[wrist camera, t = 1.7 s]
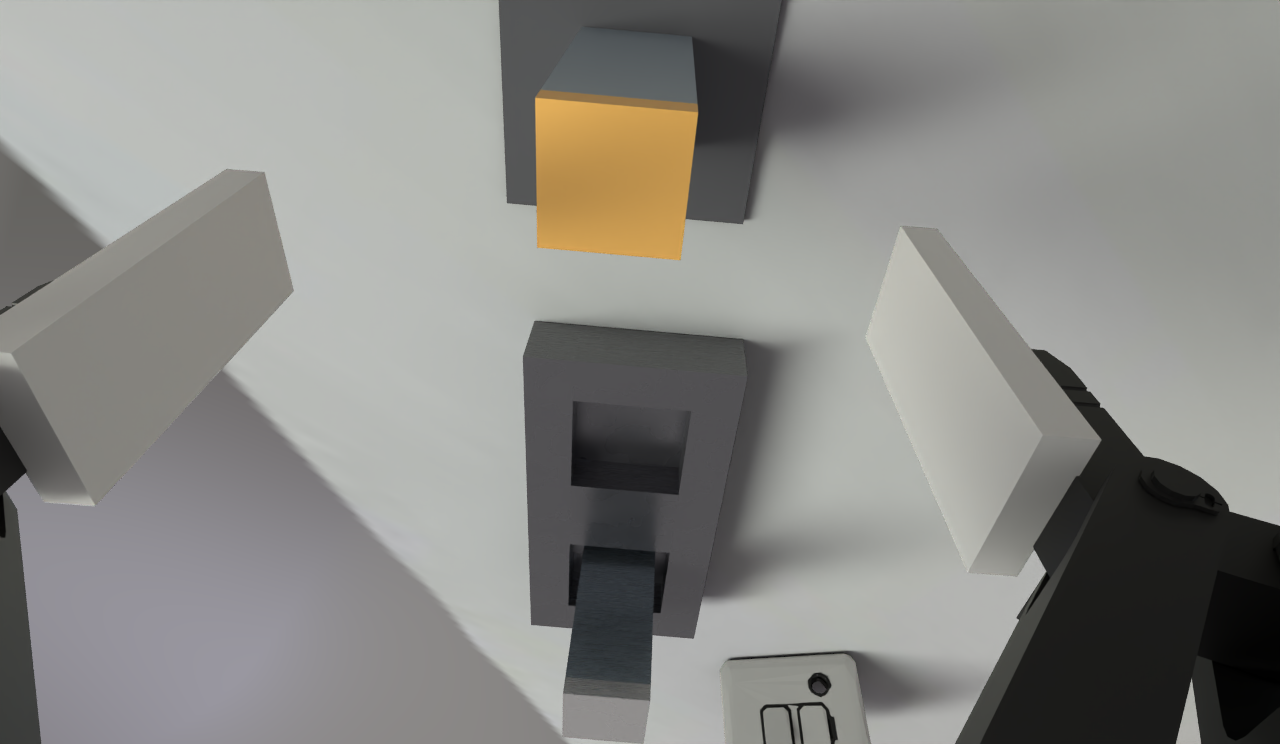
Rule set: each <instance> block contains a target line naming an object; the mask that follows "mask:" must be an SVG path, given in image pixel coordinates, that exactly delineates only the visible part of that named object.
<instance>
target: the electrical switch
mask: <svg viewBox="0 0 1280 744" xmlns="http://www.w3.org/2000/svg"><path fill="white" fill-rule="evenodd" d="M816 681H820V682H821V683H822V684H823V685H824V686H825V688H826V689H827V690H826V691H825V692H824V693H823V694H821V693H816V692H815V691H814V690H813V689H812V684H813V683H814V682H816ZM720 682H721V696H722V709H723V722H724V734H725V744H871V741H870V736H869V731H868V726H867V721H866V715H865V710H864V705H863V700H862V694H861V689H860V684H859V679H858V673H857V668H856V663H855V661H854V660H853V659H852V657H851V656H850V655H847V654H844V653H843V654H826V655H810V656H793V657H777V658H760V659H743V660H728V661H726V662H725V663H724V664H723V666H722V667H721V669H720Z"/></svg>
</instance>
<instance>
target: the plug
mask: <svg viewBox="0 0 1280 744" xmlns="http://www.w3.org/2000/svg"><path fill="white" fill-rule="evenodd" d="M535 118H536V187H537V248H549V249H560V250H571V251H583V252H594V253H605V254H617V255H628V256H639V257H650V258H662V259H673V260H681V251H682V243H683V235H684V227H685V218H686V210H687V202H688V193H689V185H690V177H691V168H692V160H693V152H694V143H695V135H696V127H697V118H698V104H697V92H696V80H695V68H694V56H693V44H692V37H691V36H680V35H669V34H658V33H647V32H636V31H625V30H614V29H603V28H591V27H582V28H581V29H580V31H579V32H578V34H577V35H576V37H575V38H574V40H573V41H572V43H571V44H570V46H569V47H568V49H567V50H566V52H565V53H564V55H563V56H562V58H561V59H560V61H559V62H558V64H557V65H556V67H555V69H554V70H553V72H552V73H551V75H550V76H549V78H548V79H547V81H546V82H545V84H544V85H543V87H542V88H541V90H540V91H539V93H538V94H537V96H536V97H535Z"/></svg>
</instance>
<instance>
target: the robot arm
mask: <svg viewBox="0 0 1280 744" xmlns="http://www.w3.org/2000/svg"><path fill="white" fill-rule="evenodd" d="M293 291H294V290H293V286H292V282H291V277H290V273H289V269H288V265H287V261H286V257H285V253H284V249H283V245H282V241H281V237H280V233H279V229H278V225H277V221H276V217H275V213H274V209H273V205H272V201H271V197H270V193H269V189H268V185H267V181H266V177H265V173H264V172H256V171H244V170H232V169H226V170H224V171H223V172H221V173H220V174H218V175H217V176H215V177H214V178H212V179H210V180H209V181H207V182H206V183H204V184H203V185H201V186H200V187H198V188H197V189H195V190H193V191H192V192H190V193H189V194H187V195H186V196H184V197H183V198H181V199H179V200H178V201H176V202H175V203H173V204H172V205H170V206H169V207H167V208H166V209H164V210H162V211H161V212H159V213H158V214H156V215H155V216H153V217H152V218H150V219H148V220H147V221H145V222H144V223H142V224H141V225H139V226H138V227H136V228H135V229H133V230H131V231H130V232H128V233H127V234H125V235H124V236H122V237H121V238H119V239H117V240H116V241H114V242H113V243H111V244H110V245H108V246H107V247H105V248H104V249H102V250H100V251H99V252H97V253H96V254H94V255H93V256H91V257H90V258H88V259H86V260H85V261H83V262H82V263H80V264H79V265H77V266H76V267H74V268H73V269H71V270H70V271H68V272H66V273H65V274H63V275H62V276H60V277H59V278H57V279H55V280H53V281H51V282H48V283H45V284H43V285H40V286H38V287H36V288H35V289H33V290H31V291H30V292H28V293H27V294H25V295H24V296H22V297H20V298H19V299H17V300H16V301H14V302H13V303H12V307H8V306H6V307H5V308H3V309H2V310H0V744H41V737H40V728H39V718H38V708H37V699H36V689H35V679H34V670H33V659H32V650H31V640H30V630H29V621H28V612H27V601H26V593H25V592H26V591H25V582H24V572H23V562H22V553H21V544H20V533H19V524H18V514H17V508H16V507H15V505H14V503H13V502H12V500H11V499H10V497H9V496H8V494H7V492H6V490H7V489H8V488H9V487H10V486H12V485H13V484H14V483H15V482H16V481H17V480H18V479H19V478H20V477H21V476H22V475H24V474H25V473H26V474H27V476H28V478H29V479H30V481H31V482H32V484H33V486H34V487H35V489H36V490H37V492H38V494H39V495H40V497H41V498H42V500H43V502H47V503H60V504H74V505H87V506H96V505H97V504H98V503H99V502H100V501H101V500H102V499H103V498H104V496H105V495H106V494H107V493H108V492H109V491H110V490H111V489H112V488H113V487H114V486H115V484H117V482H118V481H119V480H120V479H121V478H122V477H123V476H124V475H125V474H126V473H127V471H128V470H129V469H130V468H131V467H132V466H133V465H134V464H135V463H136V462H137V461H138V460H139V458H140V457H141V456H142V455H143V454H144V453H145V452H146V451H147V450H148V449H149V448H150V447H151V445H152V444H153V443H154V442H155V441H156V440H157V439H158V438H159V437H160V436H161V434H162V433H163V432H164V431H165V430H166V429H167V428H168V427H169V426H170V425H171V424H172V423H173V422H174V421H175V419H176V418H177V417H178V416H179V415H180V414H181V413H182V412H183V411H184V409H186V407H187V406H188V405H189V404H190V403H191V402H192V401H193V400H194V399H195V398H196V397H197V396H198V394H199V393H200V392H201V391H202V390H203V389H204V388H205V387H206V386H207V385H208V383H210V381H211V380H212V379H213V378H214V377H215V376H216V375H217V374H218V373H219V372H220V371H221V369H222V368H223V367H224V366H225V365H226V364H227V363H228V362H229V361H230V360H231V359H232V358H233V356H234V355H235V354H236V353H237V352H238V351H239V350H240V349H241V348H242V347H243V346H244V344H245V343H246V342H247V341H248V340H249V339H250V338H251V337H252V336H253V335H254V334H255V333H256V331H257V330H258V329H259V328H260V327H261V326H262V325H263V324H264V323H265V322H266V321H267V320H268V318H269V317H270V316H271V315H272V314H273V313H274V312H275V311H276V310H277V309H278V308H279V306H280V305H281V304H282V303H283V302H284V301H285V300H286V299H287V298H288V297H289V296H290V295H291V293H292V292H293ZM865 338H866V340H867V342H868V345H869V347H870V349H871V352H872V354H873V356H874V359H875V361H876V363H877V365H878V368H879V370H880V372H881V375H882V377H883V379H884V382H885V384H886V386H887V388H888V391H889V393H890V395H891V398H892V400H893V402H894V405H895V407H896V409H897V411H898V414H899V416H900V418H901V421H902V423H903V425H904V428H905V430H906V432H907V435H908V437H909V439H910V441H911V444H912V446H913V448H914V451H915V453H916V455H917V458H918V460H919V462H920V464H921V467H922V469H923V471H924V474H925V476H926V478H927V481H928V483H929V485H930V487H931V490H932V492H933V494H934V497H935V499H936V501H937V504H938V506H939V508H940V510H941V513H942V515H943V517H944V520H945V522H946V524H947V527H948V529H949V531H950V533H951V536H952V538H953V540H954V543H955V545H956V547H957V550H958V552H959V554H960V557H961V559H962V561H963V563H964V566H965V568H966V570H967V573H977V574H990V575H1003V576H1016V577H1017V576H1018V575H1019V573H1020V572H1021V570H1022V568H1023V567H1024V565H1025V563H1026V562H1027V560H1028V559H1029V557H1030V555H1031V554H1032V552H1033V550H1035V551H1036V553H1037V555H1038V557H1039V559H1040V560H1041V562H1042V564H1043V566H1044V568H1045V570H1046V573H1045V574H1044V576H1043V578H1042V579H1041V581H1040V582H1039V584H1038V585H1037V587H1036V588H1035V590H1034V591H1033V593H1032V594H1031V596H1030V598H1029V599H1028V601H1027V602H1026V604H1025V605H1024V607H1023V608H1022V610H1021V611H1020V613H1019V614H1018V616H1017V619H1019V622H1018V623H1017V625H1016V627H1015V629H1014V631H1013V633H1012V635H1011V637H1010V639H1009V641H1008V643H1007V645H1006V647H1005V649H1004V650H1003V652H1002V654H1001V656H1000V658H999V660H998V662H997V664H996V666H995V668H994V670H993V672H992V674H991V676H990V677H989V679H988V681H987V683H986V685H985V687H984V689H983V691H982V693H981V695H980V697H979V699H978V701H977V703H976V704H975V706H974V708H973V710H972V712H971V714H970V716H969V718H968V720H967V722H966V724H965V726H964V728H963V730H962V731H961V733H960V735H959V737H958V739H957V741H956V743H955V744H1176V740H1177V736H1178V732H1179V728H1180V724H1181V720H1182V715H1183V711H1184V707H1185V703H1186V699H1187V695H1188V691H1189V686H1190V682H1191V678H1192V682H1193V689H1194V696H1195V703H1196V710H1197V717H1198V724H1199V731H1200V738H1201V744H1280V526H1278V525H1275V524H1271V523H1268V522H1264V521H1261V520H1257V519H1254V518H1250V517H1247V516H1243V515H1240V514H1236V513H1232V512H1229V507H1228V504H1227V503H1226V501H1225V500H1224V499H1223V497H1222V496H1221V495H1220V494H1219V492H1218V491H1217V490H1216V489H1215V488H1213V487H1212V486H1211V485H1209V484H1208V483H1207V482H1206V481H1204V480H1203V479H1202V478H1201V477H1199V476H1197V475H1195V474H1193V473H1192V472H1190V471H1188V470H1186V469H1184V468H1182V467H1181V466H1178V465H1175V464H1172V463H1170V462H1167V461H1164V460H1161V459H1158V458H1151V457H1144V456H1143V455H1142V453H1141V452H1140V451H1139V450H1138V449H1137V447H1136V446H1135V445H1134V444H1133V443H1132V441H1131V440H1130V439H1129V438H1128V437H1127V435H1126V434H1125V433H1124V432H1123V431H1122V429H1121V428H1120V427H1119V426H1118V425H1117V423H1116V422H1115V421H1114V420H1113V419H1112V417H1111V416H1110V415H1109V414H1108V412H1107V411H1106V410H1105V409H1104V408H1100V403H1099V402H1098V400H1097V399H1096V398H1095V397H1094V396H1093V394H1092V393H1091V392H1088V391H1087V387H1086V386H1085V385H1084V384H1083V382H1082V381H1081V380H1080V379H1079V378H1078V376H1077V375H1076V374H1075V373H1074V372H1073V370H1072V369H1071V368H1070V367H1068V366H1067V365H1065V364H1064V363H1062V362H1061V361H1060V360H1058V359H1057V358H1055V357H1054V356H1052V355H1051V354H1050V353H1048V352H1047V351H1045V350H1035V349H1030V347H1029V346H1028V345H1027V344H1026V342H1025V341H1024V340H1023V338H1022V337H1021V336H1020V335H1019V333H1018V332H1017V331H1016V329H1015V328H1014V327H1013V326H1012V324H1011V323H1010V322H1009V320H1008V319H1007V318H1006V317H1005V315H1004V314H1003V313H1002V311H1001V310H1000V309H999V308H998V306H997V305H996V304H995V302H994V301H993V300H992V299H991V297H990V296H989V295H988V294H987V292H986V291H985V290H984V288H983V287H982V286H981V285H980V283H979V282H978V281H977V279H976V278H975V277H974V276H973V274H972V273H971V272H970V270H969V269H968V268H967V267H966V265H965V264H964V263H963V261H962V260H961V259H960V258H959V256H958V255H957V254H956V252H955V251H954V250H953V249H952V247H951V246H950V245H949V243H948V242H947V241H946V240H945V238H944V237H943V236H942V234H941V233H940V232H939V231H938V229H932V228H920V227H908V226H900V229H899V233H898V236H897V239H896V242H895V245H894V248H893V252H892V255H891V258H890V261H889V264H888V267H887V271H886V274H885V277H884V280H883V283H882V286H881V290H880V293H879V296H878V299H877V302H876V305H875V309H874V312H873V315H872V318H871V321H870V325H869V328H868V331H867V334H866V337H865Z"/></svg>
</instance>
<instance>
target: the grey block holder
mask: <svg viewBox="0 0 1280 744" xmlns="http://www.w3.org/2000/svg"><path fill="white" fill-rule="evenodd" d="M523 375H524V407H525V439H526V472H527V504H528V536H529V569H530V601H531V625H539V626H551V627H563V628H572V635H571V642H570V649H569V656H568V663H567V670H566V677H565V684H564V691H563V736H562V737H569V738H581V739H592V740H604V741H616V742H628V743H640V744H643V743H644V736H645V730H646V724H647V717H648V711H649V705H650V688H651V660H652V635H657V636H669V637H680V638H692V639H694V635H695V630H696V625H697V621H698V616H699V611H700V606H701V601H702V596H703V591H704V587H705V582H706V577H707V572H708V567H709V562H710V558H711V553H712V548H713V543H714V538H715V533H716V529H717V524H718V519H719V514H720V509H721V504H722V499H723V495H724V490H725V485H726V480H727V475H728V470H729V466H730V461H731V456H732V451H733V446H734V441H735V437H736V432H737V427H738V422H739V417H740V412H741V407H742V403H743V398H744V393H745V388H746V383H747V378H748V373H747V366H746V359H745V352H744V345H743V340H742V339H730V338H719V337H708V336H696V335H685V334H674V333H662V332H651V331H639V330H628V329H617V328H605V327H594V326H582V325H571V324H560V323H548V322H537V321H534V324H533V327H532V331H531V334H530V337H529V340H528V343H527V346H526V349H525V352H524V355H523Z"/></svg>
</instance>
